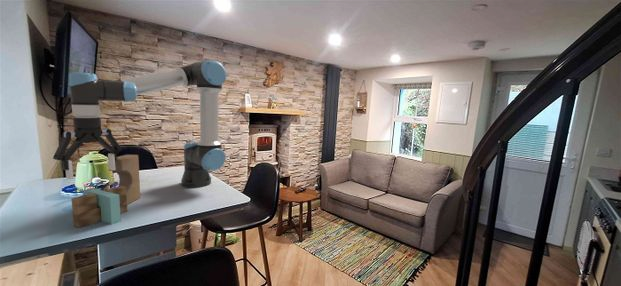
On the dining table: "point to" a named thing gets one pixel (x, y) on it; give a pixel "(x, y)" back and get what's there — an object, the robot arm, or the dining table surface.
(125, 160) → the decorative block
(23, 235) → the dining table surface
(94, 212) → the walnut board
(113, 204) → the teal board
